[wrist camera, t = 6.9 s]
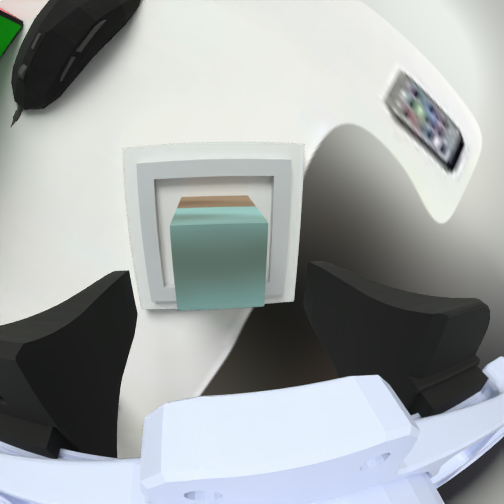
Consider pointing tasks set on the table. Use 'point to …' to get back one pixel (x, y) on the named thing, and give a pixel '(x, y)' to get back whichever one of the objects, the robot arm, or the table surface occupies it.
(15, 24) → the puzzle cube
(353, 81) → the table surface
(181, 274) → the teal brown rectangular block
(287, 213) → the base plate
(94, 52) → the gaming mouse
